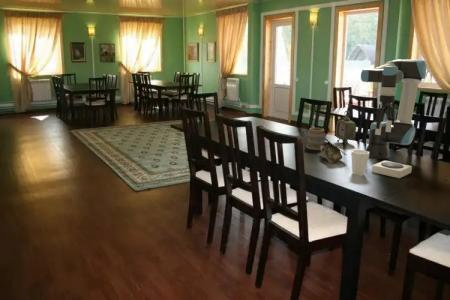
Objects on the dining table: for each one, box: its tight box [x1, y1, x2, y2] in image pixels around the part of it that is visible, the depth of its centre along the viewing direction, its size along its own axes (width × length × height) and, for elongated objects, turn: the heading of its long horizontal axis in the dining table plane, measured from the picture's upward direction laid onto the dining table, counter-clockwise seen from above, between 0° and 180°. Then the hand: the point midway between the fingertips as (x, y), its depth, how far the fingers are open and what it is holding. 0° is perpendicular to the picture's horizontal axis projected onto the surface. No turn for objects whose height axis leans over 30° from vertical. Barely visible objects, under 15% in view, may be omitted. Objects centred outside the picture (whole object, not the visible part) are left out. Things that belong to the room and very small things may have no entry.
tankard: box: [305, 124, 326, 151], centre depth 285 cm, size 20×13×15 cm, turn 179°
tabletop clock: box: [335, 110, 357, 146], centre depth 297 cm, size 14×9×25 cm, turn 14°
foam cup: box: [350, 149, 369, 177], centre depth 220 cm, size 10×9×13 cm
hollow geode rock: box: [320, 137, 348, 164], centre depth 253 cm, size 28×13×15 cm
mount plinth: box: [371, 160, 413, 179], centre depth 225 cm, size 16×16×4 cm
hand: (382, 133), depth 218 cm, fingers open, 13 cm apart
